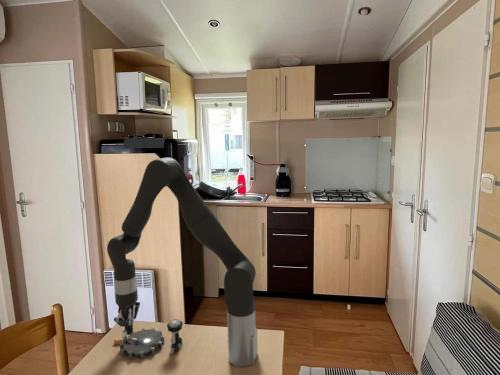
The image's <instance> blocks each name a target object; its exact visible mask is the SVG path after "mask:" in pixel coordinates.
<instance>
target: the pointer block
mask: <svg viewBox="0 0 500 375" xmlns="http://www.w3.org/2000/svg"><path fill="white" fill-rule="evenodd" d="M114 343H115V344H116V345H119V346H120V343H123V340H122V337H115V338H114V339H113V344H114Z"/></svg>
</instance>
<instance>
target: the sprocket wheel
mask: <svg viewBox="0 0 500 375" xmlns="http://www.w3.org/2000/svg"><path fill="white" fill-rule="evenodd" d="M162 334H163V333H162V330H160V329H159V330H156V329H155V328H154V327H151V328H150V329H145V328H141V330H137V331H133V333H132V334H131V335H127V330H125V329H123V330H122V331H121V336H122V337H121V338H122V343H120V344H119V350H120V351H121V356H122V357H125V356H128V359H129V360H133V359H134V358H140V359H144V358H145V356H149V355H152V356H154V355H155V354H156V352H157V350H158V349H162V348H163V347H164V346H163V343H165V335H164V334H163V335H162Z"/></svg>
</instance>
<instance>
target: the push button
mask: <svg viewBox="0 0 500 375" xmlns="http://www.w3.org/2000/svg"><path fill="white" fill-rule="evenodd" d="M166 328H167V331H168V332H170V333H171V338H170V340H171V343H170V354H171V355H173V354H174V353H176V352H177V351H178V350H179V349H181V348H182V345H183V339H182V337H180V331H181V330H182V328H183V322H182V320H180V319H178V318H175V319H174V318H173V319H170V321H169V322H168V323H167V324H166Z"/></svg>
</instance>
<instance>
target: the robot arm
mask: <svg viewBox="0 0 500 375" xmlns="http://www.w3.org/2000/svg"><path fill="white" fill-rule="evenodd" d="M166 187H167V188H168V189H169V190H170V191H171V192H172V194H173V196H175V198H176V200H177V202H178V204H179V207H180V213H181V215H182V218H183V220H184V223H185V225H186V227H187V229H188V230H189V231H190V232H191V234H192V235H193V236H194V238H195V239H196V240H197V241H198V242H199V243H201V245H203V246H204V247H206V248H207V249H209V250H210V251H212V252H213V253H214V254H215V255H216V256H217V257H218V258H219V259H220V260H221V262H222V264H223V265H224V266H225V269H226V271H225V274H224V278H223V289H224V301H225V302H224V303H225V306H226V314H227V315H226V316H227V319H226V320H227V321H226V322H227V343H228V344H227V345H228V346H227V349H228V352H227V353H228V361H229V362H230V364H232V365H233V366H236V367H239V368H244V367H248V366H255V364H256V360H257V357H258V329H257V327H256V302H255V300H254V281H255V280H256V275H257V274H256V268H255V266H254V265H253V263H252V261H251V260H249V258H248V257H247V256H246V255H245V254H244V253H243V252H242V251H241V250H240V249H239V247H238V245H236V244H235V242H234V241H233V240H232V238H231V237H230V236H229V234H228V233H227V231H226V230H225V228H224V227H223V226H222V224H221V223H220V221H219V220H218V218H217V217H216V215H215V214H214V213H213V212H212V210H211V209H210V207H209V206H208V204H206V202H205V201H204V200H203V198H202V197H201V196H200V194H199V193H198V192H197V190H196V188H195V187H194V185H192V182H191V181H190V180H189V177H188V176H187V174H186V172H185V170H184V169H183V167H182V166H181V164H180V163H179V161H177V160H176V159H174V158H172V157H162V158H156V159H153V160H152V161H150V162H149V163H148V164H147V166H146V167H145V170H144V173H143V176H142V179H141V182H140V186H139V188H138V190H137V193H136V196H135V198H134V201H133V203H132V205H131V207H130V209H129V211H128V213H127V215H126V217H125V219H124V221H122V224H121V230H122V232H123V233H122V234H119V235H118V236H115V237H112V238H111V239H110V240H108V243H107V245H106V250H107V251H106V252H107V254H108V257H109V260H110V264H111V265H112V267H113V277H114V278H113V279H114V282H113V283H114V284H113V285H114V299H115V304H116V305H117V306H118V310H117V313H118V315H117V316H115V317H114V318H113V321H114V322H115V323H116V324H117V325H118V326H120V327H122V328H123V327H124V330H127V336H129V335H131V334H132V333H133V332H134V321H135V320H136V319H137V317H138V312H139V309H140V306H141V302H140V301H138V299H139V295H138V280H137V277H136V276H137V275H136V265H135V262H134V260H133V259H129V258H126V256H127V254H129V253H131V252H133V251H134V250H136V248H137V247H138V245H139V243H140V242H141V241H140V240H141V237H142V232H143V231H144V229H145V228H146V226H147V223H148V222H149V220H150V218H151V216H152V212H153V211H152V210H153V205H154V202H155V200H156V198H157V197H158V195H159V194H160V193H161V192H162V191H163V189H164V188H166Z"/></svg>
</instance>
